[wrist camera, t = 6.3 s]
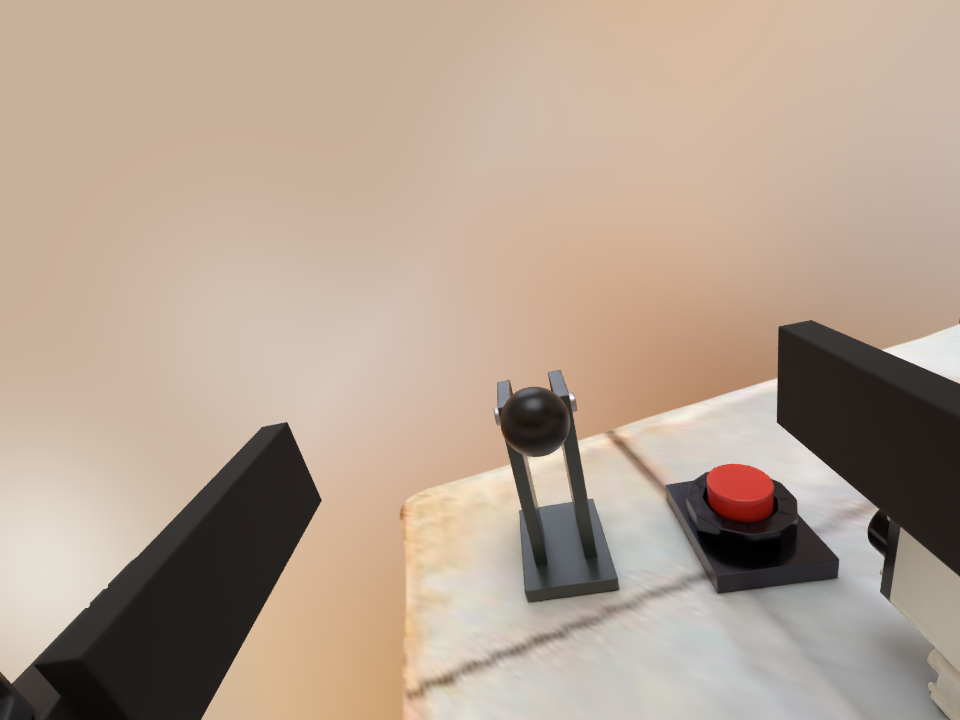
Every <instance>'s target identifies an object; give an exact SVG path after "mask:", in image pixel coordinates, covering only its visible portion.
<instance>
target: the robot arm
mask: <svg viewBox="0 0 960 720" xmlns="http://www.w3.org/2000/svg"><path fill="white" fill-rule="evenodd" d="M959 324H960V320H959ZM778 336H779V337H778V338H779V339H778V391H777V423H778V424H779V425H781V426H782V427H783V428H784V429H785V430H787V431H788V432H789V433H790V434H791V435H792V436H794V437H795V438H796V439H797V440H798V441H800V442H801V443H802V444H803V445H804V446H805V447H807V448H808V449H809V450H810V451H811V452H813V453H814V454H815V455H816V456H817V457H818V458H820V459H821V460H822V461H823V462H824V463H826V464H827V465H828V466H829V467H830V468H831V469H833V470H834V471H835V472H836V473H837V474H839V475H840V476H841V477H842V478H843V479H845V480H846V481H847V482H848V483H849V484H850V485H852V486H853V487H854V488H855V489H856V490H858V491H859V492H860V493H861V494H862V495H863V496H865V497H866V498H867V499H868V500H869V501H871V502H872V503H873V504H874V505H875V506H876V507H878V508H879V509H880V510H881V511H882V512H884V513H885V514H886V515H887V516H888V517H889V518H891V519H892V520H893V521H894V522H895V523H897V524H898V525H899V526H900V527H901V528H902V529H904V530H905V531H906V532H907V533H908V534H910V535H911V536H912V537H913V538H914V539H916V540H917V541H918V542H919V543H920V544H921V545H923V546H924V547H925V548H926V549H927V550H929V551H930V552H931V553H932V554H933V555H934V556H936V557H937V558H938V559H939V560H940V561H942V562H943V563H944V564H945V565H946V566H947V567H949V568H950V569H951V570H952V571H953V572H955V573H956V574H957V575H958V576H959V577H960V384H959V383H956V382H954V381H952V380H949V379H947V378H945V377H942V376H940V375H938V374H935V373H933V372H931V371H928V370H926V369H924V368H921V367H919V366H917V365H915V364H912V363H910V362H908V361H905V360H903V359H901V358H898V357H896V356H894V355H891V354H889V353H887V352H884V351H882V350H880V349H877V348H875V347H873V346H870V345H868V344H866V343H863V342H861V341H859V340H856V339H854V338H852V337H849V336H847V335H845V334H842V333H840V332H838V331H835V330H833V329H831V328H828V327H826V326H824V325H821V324H819V323H816V322H814V321H812V320H810V321H805V322H800V323H795V324H790V325H784V326H779V334H778ZM321 501H322V500H321V498H320V496H319V493H318V491H317V489H316V486H315V484H314V482H313V480H312V477H311V475H310V473H309V471H308V468H307V466H306V464H305V462H304V459H303V457H302V455H301V452H300V450H299V448H298V445H297V443H296V441H295V439H294V436H293V434H292V432H291V430H290V428H289V425H288V423H287V422H286V423H281V424H276V425H271V426H265V427H262V428H261V429H260V430H259V431H258V432H257V433H256V434H255V435H254V436H253V437H252V438H251V439H250V440H249V441H248V442H247V443H246V444H245V445H244V447H243V448H242V449H241V450H240V451H239V452H238V453H237V454H236V455H235V456H234V457H233V458H232V459H231V460H230V461H229V462H228V463H227V464H226V465H225V466H224V467H223V468H222V469H221V470H220V471H219V473H218V474H217V475H216V476H215V477H214V478H213V479H212V480H211V481H210V482H209V483H208V484H207V485H206V486H205V487H204V488H203V489H202V490H201V491H200V492H199V493H198V494H197V495H196V496H195V497H194V498H193V500H192V501H191V502H190V503H189V504H188V505H187V506H186V507H185V508H184V509H183V510H182V511H181V512H180V513H179V514H178V515H177V516H176V517H175V518H174V519H173V520H172V521H171V522H170V523H169V524H168V526H166V528H165V529H164V530H163V531H162V532H161V533H160V534H159V535H158V536H157V537H156V538H155V539H154V540H153V541H152V542H151V543H150V544H149V545H148V546H147V547H146V548H145V549H144V550H143V552H142V553H140V555H139V556H138V557H136V558H135V559H134V560H132V561H131V562H130V563H129V564H128V565H127V566H126V567H125V568H124V569H123V570H122V571H121V572H120V573H119V574H118V575H117V576H116V577H115V578H114V579H113V580H112V581H111V582H110V583H109V584H108V588H107V589H104V590H102V591H101V593H100V594H99V595H98V596H97V597H96V598H95V599H94V600H93V601H92V602H91V603H90V606H89V608H85V609H84V610H83V611H82V612H81V613H80V614H79V615H78V616H77V617H76V618H75V619H74V620H73V622H71V623H70V624H69V626H68V627H67V628H66V629H65V630H64V631H63V632H62V633H61V634H60V635H59V636H58V637H57V638H56V639H55V640H54V641H53V642H52V643H51V644H50V645H49V646H48V647H47V648H46V649H45V651H44V652H43V653H42V654H41V655H39V657H38V658H37V659H36V660H35V661H34V662H33V663H32V664H31V665H30V666H29V667H28V668H27V669H26V670H25V671H24V672H23V673H22V674H21V675H20V676H19V677H18V678H17V679H16V680H15V681H14V682H13V683H12V684H11V683H10V682H9V681H8V680H7V679H6V677H5V676H3V674H2V673H1V672H0V720H201V719H202V717H203V715H204V713H205V711H206V709H207V708H208V706H209V704H210V702H211V700H212V699H213V697H214V695H215V693H216V691H217V689H218V688H219V686H220V684H221V682H222V680H223V679H224V677H225V675H226V673H227V671H228V670H229V668H230V666H231V664H232V662H233V660H234V659H235V657H236V655H237V653H238V651H239V650H240V648H241V646H242V644H243V642H244V641H245V639H246V637H247V635H248V633H249V631H250V629H251V628H252V626H253V624H254V622H255V621H256V619H257V617H258V615H259V613H260V611H261V610H262V608H263V606H264V604H265V602H266V601H267V599H268V597H269V595H270V593H271V592H272V590H273V588H274V586H275V584H276V582H277V581H278V579H279V577H280V575H281V573H282V572H283V570H284V568H285V566H286V564H287V562H288V561H289V559H290V557H291V555H292V553H293V552H294V549H295V548H296V546H297V544H298V543H299V541H300V539H301V537H302V535H303V533H304V532H305V529H306V528H307V526H308V524H309V522H310V521H311V519H312V517H313V515H314V513H315V512H316V510H317V508H318V506H319V504H320V502H321Z"/></svg>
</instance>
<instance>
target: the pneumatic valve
mask: <svg viewBox="0 0 960 720" xmlns="http://www.w3.org/2000/svg"><path fill="white" fill-rule="evenodd" d="M868 539H869V542H870V543H871V545H872V546H873V547H874V548H875V549H876V550H877V551H878V552H879V553H880V554H881V555H882V556H884V557H885V560H884V567H883V569H881V570H880V574H881V575H882V582H881V589H880V592H881V593H882V594H883V595H884V596H885V597H886V598H887V599H888V600H889V601H890V602H891V603H892V605H893V606H894V607H895V608H896V609H897V610H898V611H899V612H900V613H901V614H902V615H903V616H904V617H905V618H906V619H907V620H908V621H909V622H910V623H911V624H912V625H913V626H914V627H915V628H916V629H917V630H918V631H919V632H920V633H921V634H922V635H923V636H924V637H925V638H926V639H927V640H928V641H929V642H930V643H931V644H932V645H933V646H934V647H935V648H934V649H933V650H932V651H931V652H930V654H929V656H928V663H929V664H930V665H931V666H932V668H933V669H934V670H935V671H936V672H937V673H938V674H939V675H938V678H937V683H934V682H929V683H928V689H929V690H930V691H931V692H932V693H931V695H930V697H931V699H932V700H933V701H934V702H935V703H936V704H937V706H938V707H939V708H940V709H941V710H942V711H943V712H944V713H945V715H946V716H947V717H948V718H949V719H950V720H960V577H959V576H958V575H957V574H956V573H955V572H953V571H952V570H951V569H950V568H949V567H947V566H946V565H945V564H944V563H943V562H942V561H940V560H939V559H938V558H937V557H936V556H934V555H933V554H932V553H931V552H930V551H929V550H927V549H926V548H925V547H924V546H923V545H921V544H920V543H919V542H918V541H917V540H916V539H914V538H913V537H912V536H911V535H910V534H908V533H907V532H906V531H905V530H904V529H902V528H901V527H900V526H899V525H898V524H897V523H895V522H894V521H893V520H892V519H891V518H889V517H888V516H887V515H886V514H885V513H884V512H882V511H881V510H880V509H879V510H878V511H877V512H876V514H875V515H874V516H873V518H872V519H871V521H870V523H869V526H868Z"/></svg>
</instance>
